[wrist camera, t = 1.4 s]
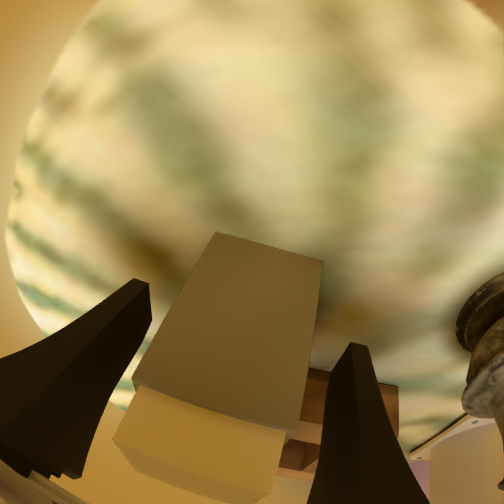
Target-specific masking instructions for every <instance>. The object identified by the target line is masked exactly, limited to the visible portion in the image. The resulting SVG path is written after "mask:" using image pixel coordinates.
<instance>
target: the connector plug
mask: <svg viewBox="0 0 504 504" xmlns="http://www.w3.org/2000/svg"><path fill="white" fill-rule="evenodd" d="M322 265H323V261H320V260H316V259H313V258H309V257H305V256H302V255H298V254H295V253H291V252H288V251H284V250H281V249H277V248H273V247H270V246H266V245H263V244H259V243H255V242H252V241H248V240H245V239H241V238H237V237H234V236H230V235H227V234H223V233H219V232H216V233H215V234H214V236H213V237H212V239H211V241H210V242H209V244H208V246H207V247H206V249H205V251H204V252H203V254H202V256H201V257H200V259H199V261H198V262H197V264H196V266H195V267H194V269H193V271H192V272H191V274H190V276H189V277H188V279H187V281H186V282H185V284H184V286H183V287H182V289H181V291H180V293H179V294H178V296H177V298H176V299H175V301H174V303H173V305H172V306H171V308H170V310H169V312H168V313H167V315H166V317H165V318H164V320H163V322H162V324H161V325H160V327H159V329H158V331H157V333H156V334H155V336H154V338H153V340H152V341H151V343H150V345H149V347H148V348H147V350H146V352H145V354H144V356H143V357H142V359H141V361H140V363H139V365H138V366H137V368H136V370H135V372H134V374H133V376H132V377H131V378H132V381H133V384H134V388H135V391H136V393H135V395H134V397H133V399H132V401H131V403H130V405H129V407H128V409H127V411H126V413H125V414H124V416H123V418H122V420H121V422H120V424H119V426H118V428H117V431H116V432H115V434H114V436H113V438H112V440H113V441H114V442H115V444H116V445H117V447H118V448H119V449H120V451H121V452H122V453H123V455H124V456H125V457H126V459H127V460H128V461H129V462H130V464H131V465H132V466H133V467H134V469H135V470H136V471H137V472H139V473H142V474H144V475H147V476H149V477H152V478H154V479H157V480H159V481H162V482H164V483H167V484H170V485H172V486H175V487H178V488H181V489H183V490H186V491H189V492H192V493H195V494H199V495H202V496H205V497H208V498H212V499H215V500H219V501H222V502H226V503H230V504H254V503H256V502H258V501H259V500H261V499H263V498H264V497H266V496H268V495H269V494H271V493H272V489H273V485H274V481H275V477H276V473H277V469H278V465H279V461H280V457H281V452H282V448H283V446H284V445H285V444H286V443H287V442H288V440H289V439H290V438H291V437H292V436H293V435H294V433H295V432H296V431H297V427H298V422H299V417H300V412H301V407H302V401H303V396H304V390H305V384H306V379H307V373H308V367H309V361H310V354H311V348H312V341H313V335H314V328H315V321H316V314H317V306H318V298H319V291H320V282H321V274H322Z"/></svg>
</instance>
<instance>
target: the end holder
mask: <svg viewBox="0 0 504 504" xmlns="http://www.w3.org/2000/svg"><path fill="white" fill-rule="evenodd" d="M329 377H330V373H328V372H324V371H320V370H315V369H311V368H308V373H307V379H306V384H305V390H304V396H303V401H302V407H301V412H300V417H299V422H298V427H297V431H296V432H295V433H294V435H293V436H292V437H291V438H290V439H289V440H288V442H287V443H286V444H285V445H284V446H283V448H282V452H281V457H280V461H279V465H278V469H277V473H276V475H278V476H283V477H288V478H293V479H298V480H304V481H310V482H313V480H314V476H315V472H316V468H317V464H318V459H319V453H320V444H321V435H322V426H323V416H324V405H325V397H326V392H327V387H328V382H329ZM378 385H379V389H380V392H381V395H382V398H383V401H384V404H385V408H386V411H387V414H388V417H389V419H390V422H391V425H392V428H393V430H394V433H395V435H396V438H397V437H398V433H399V399H398V387H396V386H391V385H385V384H380V383H378Z"/></svg>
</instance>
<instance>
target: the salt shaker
mask: <svg viewBox="0 0 504 504" xmlns="http://www.w3.org/2000/svg"><path fill="white" fill-rule="evenodd" d="M456 335H457V339H458V342H459V343H460V345H461V346H462V347H463V348H464V349H466V350H467V351H469V352H471V353H472V355H471V359H470V364H469V369H468V373H467V378H466V382H467V386H466V388H465V389H464V392H463V395H462V399H461V401H462V406H463V409H464V410H465V411H466V412H467V413H468V414H469V415H471V416H474V417H477V418H487V419H492V418H494V419H495V421H496V424H497V426H498V428H499V431H500V434H501V437H502V443H503V452H504V273H503V274H501V275H498V276H496V277H494V278H493V279H491V280H490V281H489V282H487V283H486V284H484V285H483V286H481V287H480V288H479V289H478V290H477V291H476V292H475V293H474V294H473V295H472V296H471V297H470V298H469V300H468V301H467V303H466V304H465V305H464V307H463V308H462V310H461V312H460V314H459V317H458V319H457V323H456ZM498 489H500V490H503V491H504V478H503V480H502V481H501V482H499V484H498Z"/></svg>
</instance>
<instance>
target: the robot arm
mask: <svg viewBox="0 0 504 504" xmlns="http://www.w3.org/2000/svg"><path fill="white" fill-rule="evenodd" d="M151 322H152V313H151V303H150V292H149V283H147V282H144V281H141V280H138V279H135V278H133V279H132V280H130V281H129V282H128V283H126V284H125V285H123V286H122V287H121V288H119V289H118V290H117V291H115V292H114V293H113V294H111V295H110V296H109V297H107V298H106V299H105V300H103V301H102V302H101V303H99V304H98V305H96V306H95V307H94V308H92V309H91V310H89V311H88V312H87V313H85V314H84V315H82V316H81V317H79V318H78V319H76V320H75V321H73V322H72V323H70V324H69V325H67V326H65V327H64V328H62V329H61V330H59V331H57V332H56V333H54V334H52V335H50V336H49V337H47V338H45V339H43V340H41V341H39V342H37V343H35V344H33V345H31V346H29V347H27V348H25V349H23V350H21V351H18V352H16V353H14V354H11V355H8V356H6V357H3V358H0V504H89V503H87V502H85V501H84V500H82V499H80V498H79V497H77V496H75V495H73V494H72V493H70V492H68V491H66V490H65V489H63V488H61V487H60V486H58V485H57V484H55V483H54V482H52V481H50V480H49V478H50V476H51V474H52V475H54V476H56V477H57V478H60V476H61V474H62V473H63V474H65V475H66V476H68V477H70V478H72V479H78V478H80V477H82V472H83V469H84V465H85V462H86V458H87V454H88V452H89V449H90V446H91V443H92V440H93V437H94V434H95V431H96V429H97V426H98V424H99V421H100V419H101V416H102V414H103V412H104V409H105V407H106V405H107V402H108V400H109V398H110V396H111V394H112V392H113V390H114V389H115V387H116V385H117V383H118V382H119V380H120V378H121V377H122V375H123V373H124V372H125V370H126V369H127V367H128V365H129V364H130V362H131V360H132V359H133V357H134V355H135V354H136V352H137V350H138V349H139V347H140V345H141V344H142V342H143V339H144V337H145V335H146V333H147V331H148V329H149V326H150V324H151ZM409 459H411V460H430V489H429V490H430V491H429V500H428V499H427V497H426V496H425V494H424V492H423V491H422V489H421V487H420V485H419V484H418V482H417V480H416V478H415V476H414V474H413V473H412V471H411V469H410V467H409V465H408V463H407V461H406V459H405V456H404V454H403V452H402V450H401V447H400V445H399V443H398V440H397V438H396V435H395V433H394V430H393V428H392V425H391V422H390V419H389V417H388V414H387V411H386V408H385V404H384V401H383V398H382V395H381V392H380V389H379V385H378V382H377V378H376V375H375V371H374V368H373V364H372V361H371V357H370V353H369V349H368V347H367V346H365V345H361V344H357V343H353V342H350V344H349V345H348V347H347V349H346V350H345V352H344V353H343V355H342V356H341V358H340V359H339V361H338V362H337V364H336V365H335V367H334V368H333V370H332V371H331V373H330V377H329V382H328V387H327V392H326V397H325V405H324V416H323V426H322V435H321V444H320V453H319V459H318V464H317V468H316V472H315V476H314V480H313V484H312V488H311V491H310V494H309V498H308V501H307V504H504V491H503V490H500V489H498V484H499V482H501V481H502V480H503V478H504V452H503V443H502V437H501V434H500V431H499V428H498V426H497V424H496V421H495V419H494V418H492V419H487V418H477V417H474V416H471V415H466V416H465V417H463V418H462V419H461V420H459V421H458V422H457V423H455V424H454V425H453V426H451V427H450V428H448V429H447V430H445V431H444V432H443V433H441V434H440V435H438V436H437V437H435V438H434V439H432V440H431V441H429V442H428V443H426V444H425V445H423V446H421V447H420V448H418V449H417V450H415V451H413V452H412V453H410V454H409Z"/></svg>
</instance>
